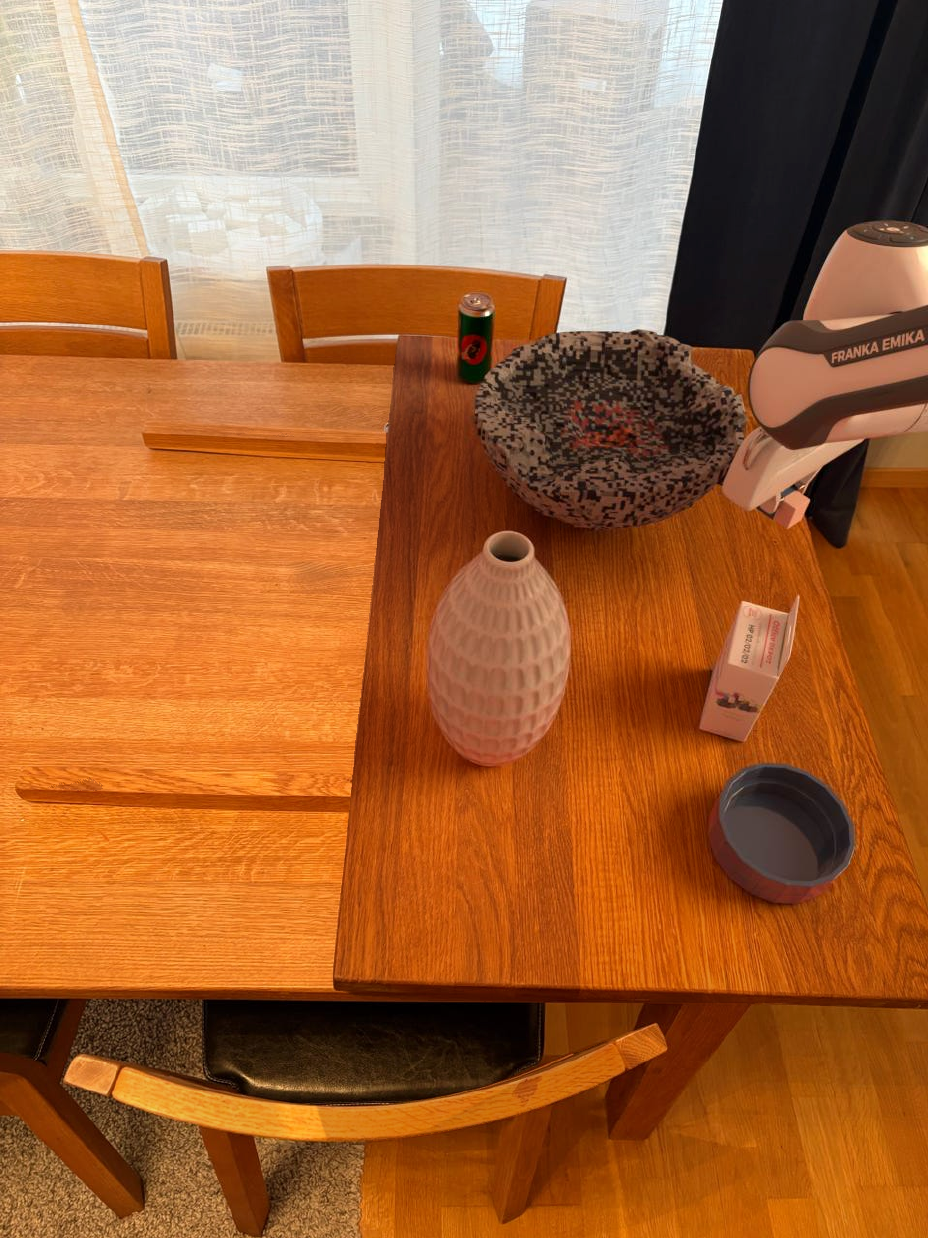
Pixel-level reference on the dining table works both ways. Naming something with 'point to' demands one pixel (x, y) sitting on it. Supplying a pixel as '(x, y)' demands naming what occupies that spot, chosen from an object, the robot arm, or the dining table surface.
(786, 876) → the blue bowl
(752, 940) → the dining table surface
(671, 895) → the dining table surface
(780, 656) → the ink box
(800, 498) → the eraser
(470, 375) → the soda can
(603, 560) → the dining table surface
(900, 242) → the robot arm
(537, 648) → the vase
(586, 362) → the bowl
